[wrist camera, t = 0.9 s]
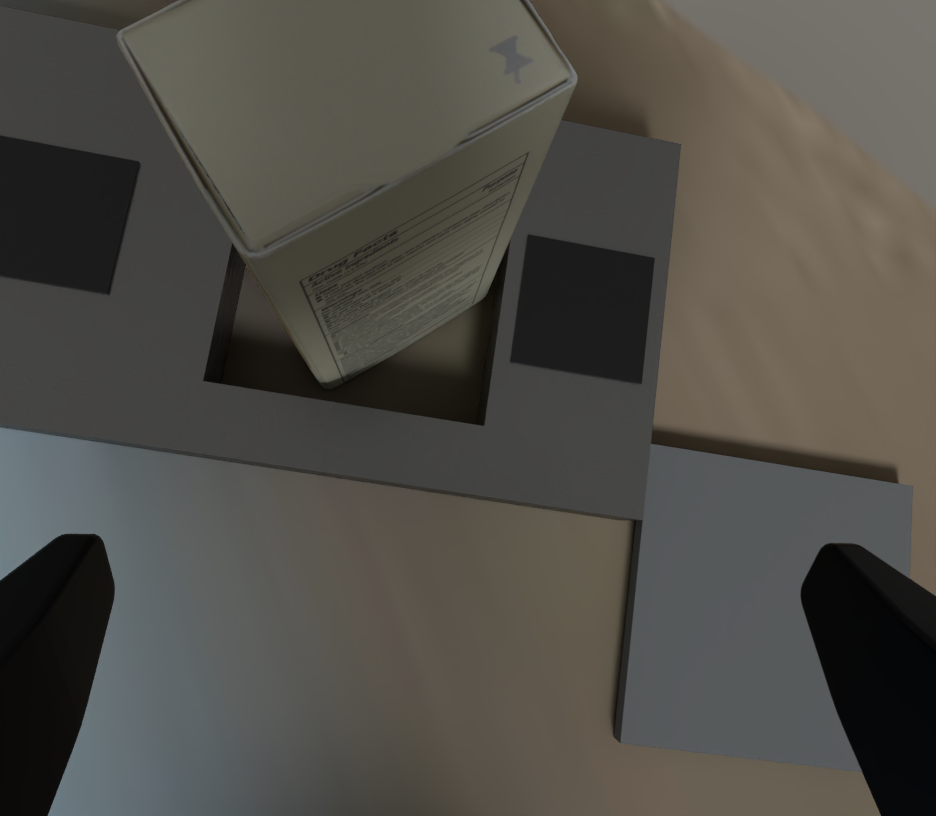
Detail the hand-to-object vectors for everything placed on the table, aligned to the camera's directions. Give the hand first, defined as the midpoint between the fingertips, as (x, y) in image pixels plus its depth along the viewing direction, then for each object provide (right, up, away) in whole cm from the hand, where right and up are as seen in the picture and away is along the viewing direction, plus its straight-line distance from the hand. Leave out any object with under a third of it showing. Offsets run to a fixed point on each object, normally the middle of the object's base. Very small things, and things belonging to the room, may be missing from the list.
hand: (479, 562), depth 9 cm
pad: (+9, -4, +14) cm, 17 cm away
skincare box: (-3, +6, +14) cm, 16 cm away
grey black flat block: (-5, +6, +14) cm, 16 cm away
